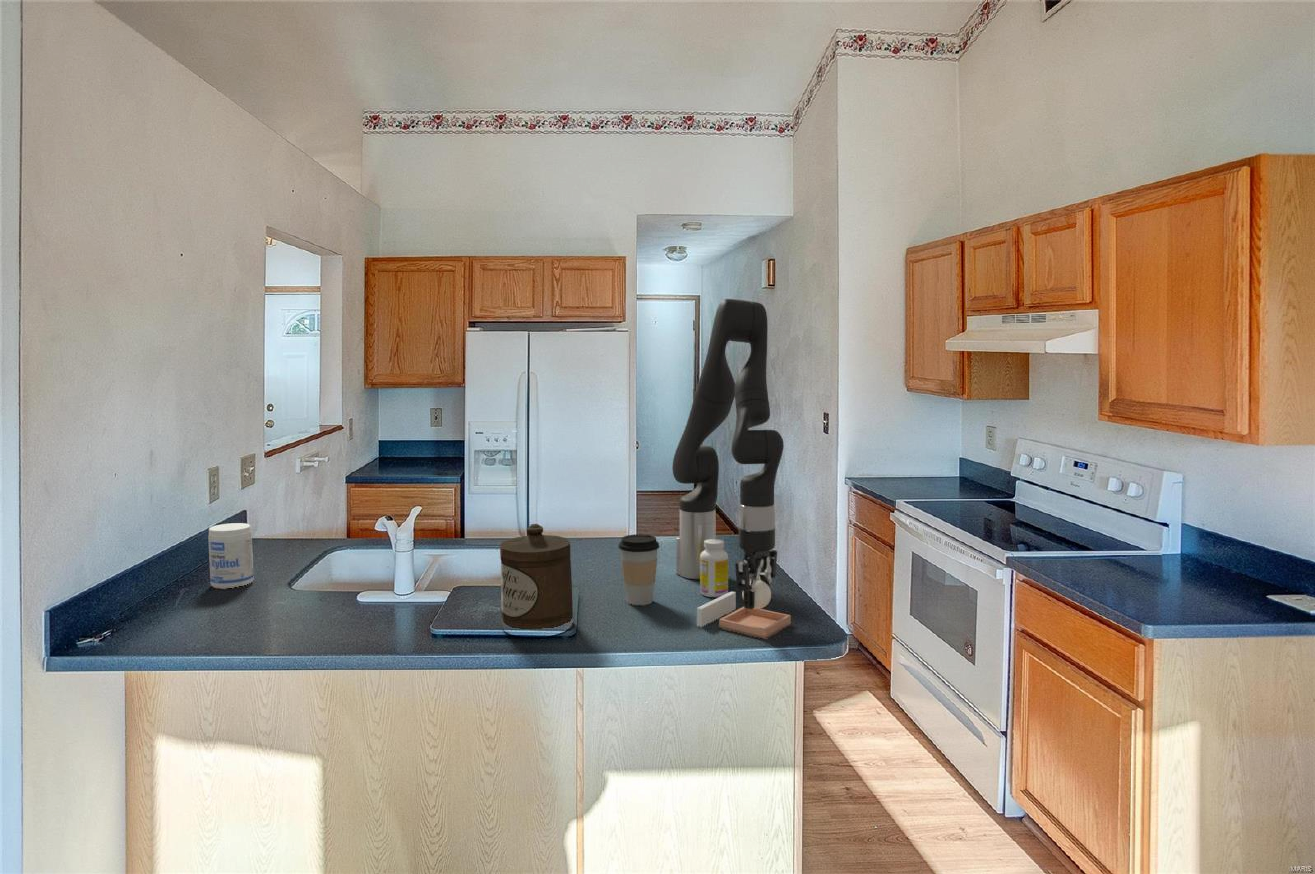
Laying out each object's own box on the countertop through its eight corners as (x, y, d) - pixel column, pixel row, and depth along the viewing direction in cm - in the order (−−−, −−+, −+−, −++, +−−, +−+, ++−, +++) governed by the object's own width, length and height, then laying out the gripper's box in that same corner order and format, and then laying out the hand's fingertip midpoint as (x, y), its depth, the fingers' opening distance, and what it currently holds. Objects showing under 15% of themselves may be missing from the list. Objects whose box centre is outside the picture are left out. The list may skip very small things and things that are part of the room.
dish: (719, 628, 170) (719, 619, 170) (745, 614, 179) (745, 605, 179) (765, 639, 164) (765, 630, 163) (790, 624, 172) (790, 615, 172)
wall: (696, 626, 172) (696, 608, 171) (731, 608, 183) (731, 591, 182) (701, 627, 171) (701, 609, 170) (735, 609, 182) (735, 592, 182)
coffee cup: (666, 598, 190) (666, 535, 189) (648, 610, 182) (648, 545, 180) (630, 593, 194) (629, 531, 192) (611, 605, 186) (610, 540, 184)
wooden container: (490, 624, 173) (487, 523, 171) (550, 610, 182) (548, 514, 180) (523, 644, 162) (520, 536, 159) (586, 628, 171) (584, 526, 168)
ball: (737, 609, 170) (737, 581, 169) (751, 602, 175) (751, 574, 174) (762, 614, 166) (762, 586, 166) (776, 607, 171) (776, 579, 171)
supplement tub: (208, 592, 197) (204, 532, 195) (213, 581, 205) (209, 524, 204) (253, 587, 200) (249, 528, 199) (255, 577, 209) (252, 521, 207)
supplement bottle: (731, 591, 196) (731, 539, 194) (724, 599, 189) (724, 545, 188) (704, 588, 198) (704, 536, 196) (696, 596, 192) (696, 543, 190)
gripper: (757, 517, 177) (757, 592, 178) (723, 529, 165) (723, 610, 167) (789, 521, 172) (788, 598, 174) (756, 534, 161) (755, 616, 163)
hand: (756, 603), depth 171 cm, fingers closed on ball, 6 cm apart
